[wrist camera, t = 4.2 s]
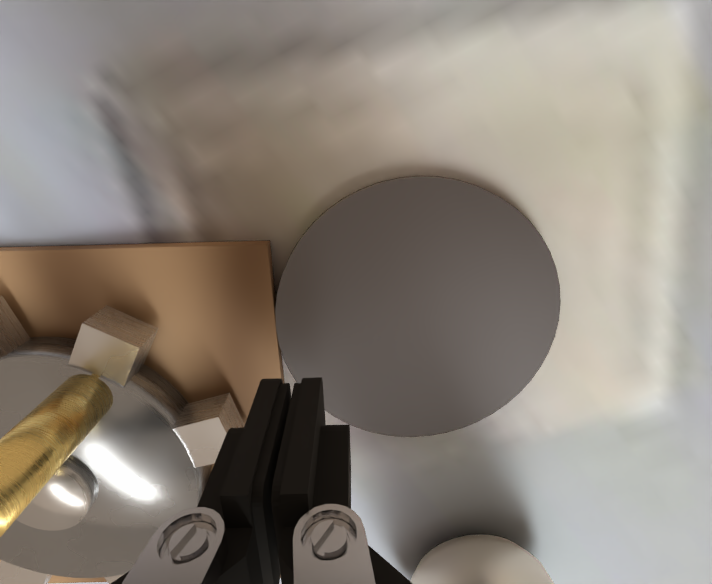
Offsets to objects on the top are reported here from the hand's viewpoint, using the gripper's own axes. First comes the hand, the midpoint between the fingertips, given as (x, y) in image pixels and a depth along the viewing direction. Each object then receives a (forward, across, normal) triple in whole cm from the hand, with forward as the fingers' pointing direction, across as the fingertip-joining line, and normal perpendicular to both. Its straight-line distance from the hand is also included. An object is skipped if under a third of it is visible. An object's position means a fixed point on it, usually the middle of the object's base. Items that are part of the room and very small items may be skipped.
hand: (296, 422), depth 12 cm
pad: (+4, -4, -1) cm, 6 cm away
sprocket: (+4, +9, +4) cm, 11 cm away
